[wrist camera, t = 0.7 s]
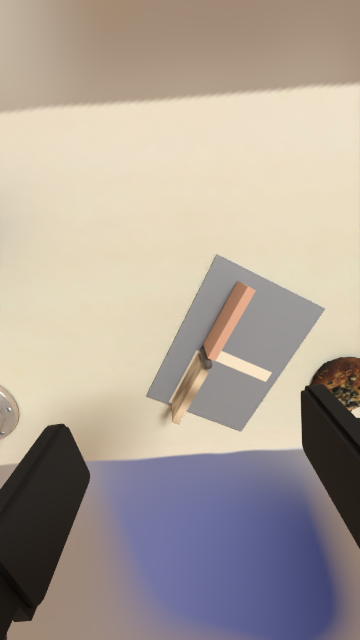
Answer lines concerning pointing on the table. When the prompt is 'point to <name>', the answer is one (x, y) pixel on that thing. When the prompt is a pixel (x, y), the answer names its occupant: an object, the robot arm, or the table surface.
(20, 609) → the robot arm
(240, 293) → the folding fence panel
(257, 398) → the card
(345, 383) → the bread roll
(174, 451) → the table surface
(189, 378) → the fixed fence section
